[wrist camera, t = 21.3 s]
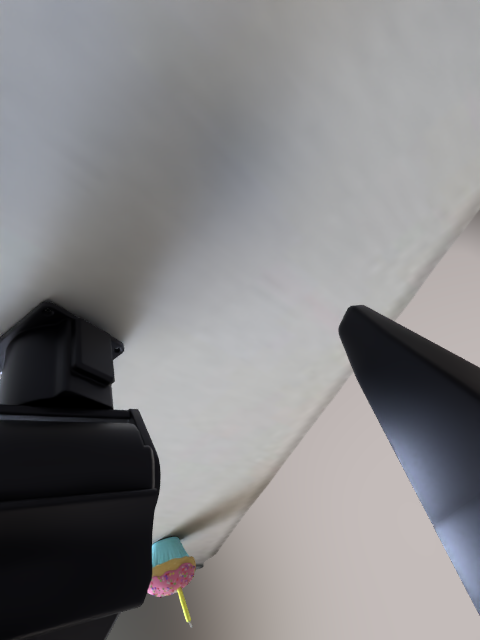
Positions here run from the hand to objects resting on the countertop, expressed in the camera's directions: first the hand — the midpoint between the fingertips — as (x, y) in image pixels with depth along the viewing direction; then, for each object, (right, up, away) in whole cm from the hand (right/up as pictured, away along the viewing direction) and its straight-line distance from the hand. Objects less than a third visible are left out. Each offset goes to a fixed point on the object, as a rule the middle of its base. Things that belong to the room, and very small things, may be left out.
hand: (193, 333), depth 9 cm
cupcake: (-12, -37, +51) cm, 64 cm away
